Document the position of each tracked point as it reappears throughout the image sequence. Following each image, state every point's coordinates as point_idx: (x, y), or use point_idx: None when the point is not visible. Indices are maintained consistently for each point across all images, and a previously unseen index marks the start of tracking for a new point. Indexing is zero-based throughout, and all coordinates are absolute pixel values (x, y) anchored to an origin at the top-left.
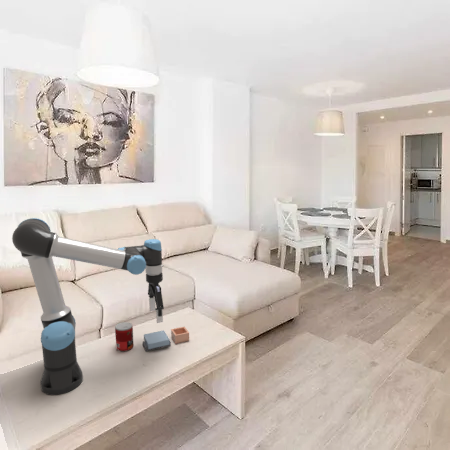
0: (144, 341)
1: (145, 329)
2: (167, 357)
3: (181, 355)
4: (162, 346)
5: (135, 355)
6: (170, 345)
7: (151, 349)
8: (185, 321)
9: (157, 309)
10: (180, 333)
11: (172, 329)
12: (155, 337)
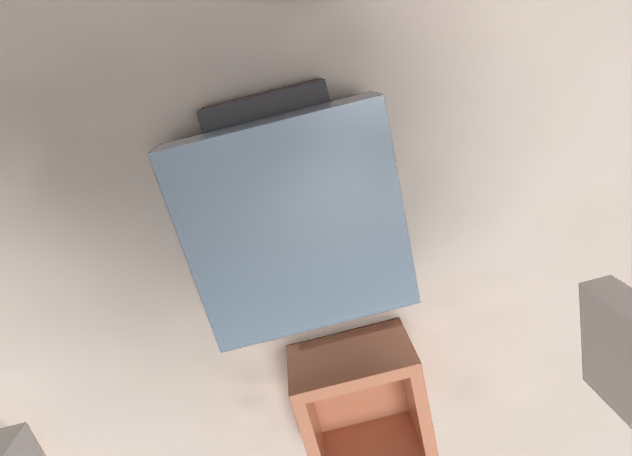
0: (322, 99)
1: (624, 96)
2: (91, 289)
3: (115, 383)
4: None
5: (143, 8)
6: None
7: None
8: None
9: None
10: (407, 397)
11: (414, 374)
12: (285, 225)
